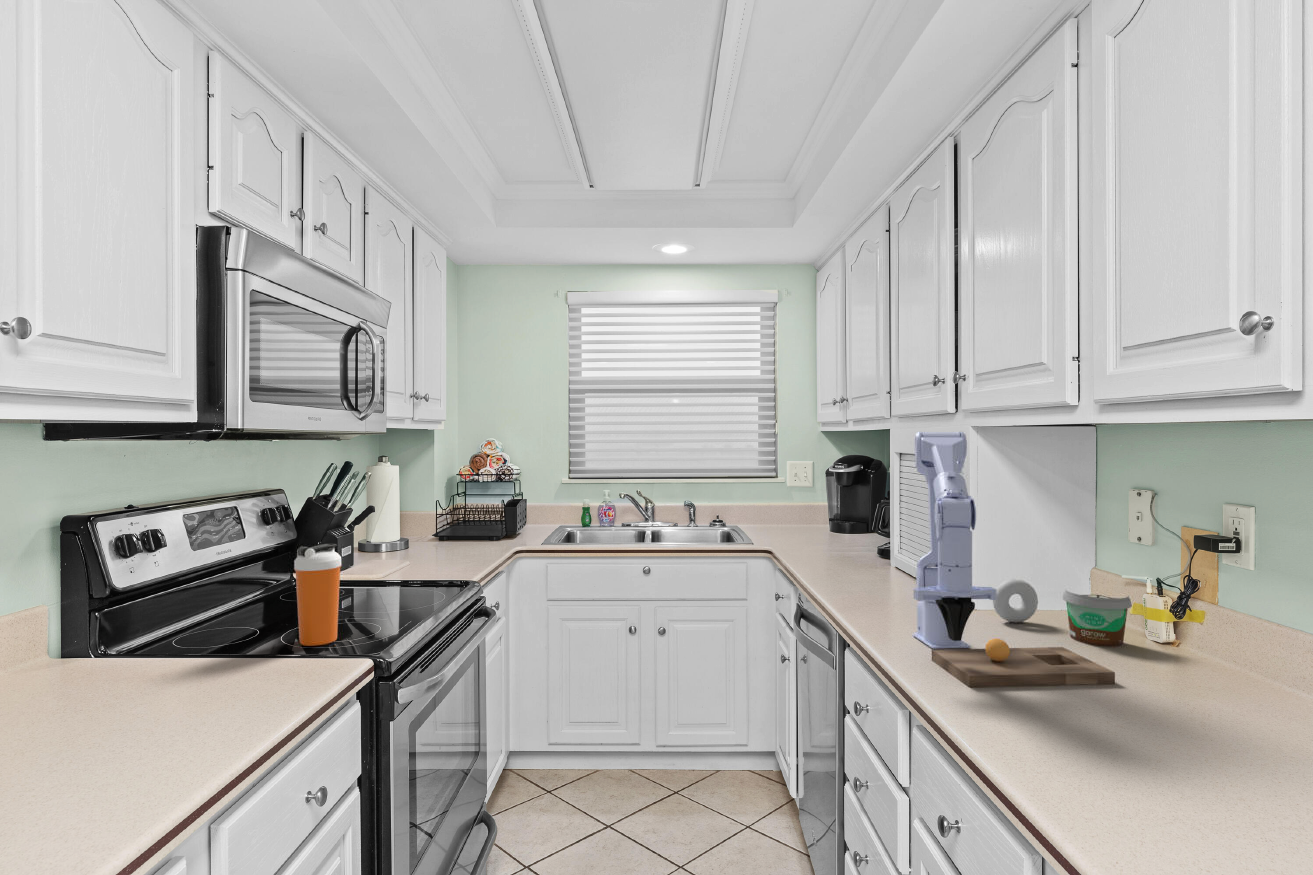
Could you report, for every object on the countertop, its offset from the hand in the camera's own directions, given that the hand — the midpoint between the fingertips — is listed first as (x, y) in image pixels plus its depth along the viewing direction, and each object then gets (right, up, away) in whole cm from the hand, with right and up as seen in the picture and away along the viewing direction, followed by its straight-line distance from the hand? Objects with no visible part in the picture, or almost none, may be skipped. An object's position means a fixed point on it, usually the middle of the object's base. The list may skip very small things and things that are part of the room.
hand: (954, 639), depth 124 cm
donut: (+28, -6, +33) cm, 44 cm away
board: (+12, -6, +1) cm, 13 cm away
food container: (+37, -6, +17) cm, 41 cm away
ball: (+8, -2, +1) cm, 8 cm away
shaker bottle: (-125, -6, +20) cm, 127 cm away
